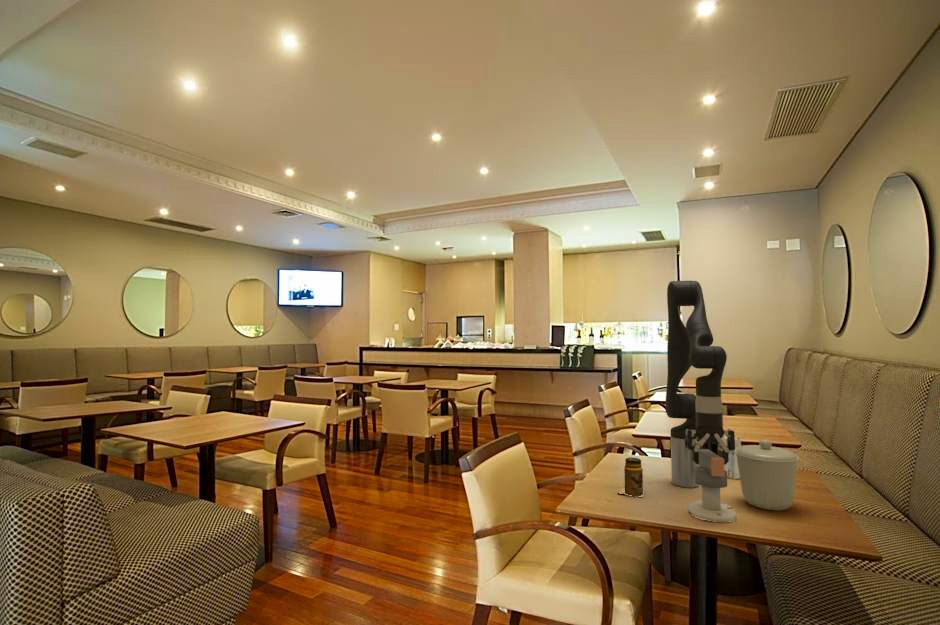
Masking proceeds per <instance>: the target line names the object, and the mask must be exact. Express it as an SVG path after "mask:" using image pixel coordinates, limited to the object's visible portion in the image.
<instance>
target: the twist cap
mask: <svg viewBox="0 0 940 625" xmlns="http://www.w3.org/2000/svg"><path fill="white" fill-rule="evenodd" d="M698 452H699V464H698V465H699V466H698V467H695V468H694V470H695V483H697V484H699V486H701V487H702V486H705V487H711V488H720V489H723V488H726V487H728V478H727V471H726V470H724V459H723V458H721V456H720V455H718V454H716V453H715V452H713V451H711V449H708V448H700V449H699V450H698Z"/></svg>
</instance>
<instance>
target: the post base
mask: <svg viewBox="0 0 940 625" xmlns="http://www.w3.org/2000/svg"><path fill="white" fill-rule="evenodd" d="M701 496H702V497H701V500H693V501H691V502H689V503H688V513H689V512H690V513H691V514H692V515H694V516H696V517H699V518H702V519H706V520H710V521H716V522H729V521H733V520H735V519H736V518H737V514H736V513H737V512H736V509H735V508H734V507H733V506H730V505H728V504H726V503H721V488H711V487H705V486H701ZM692 515H691V516H692ZM735 521H736V520H735ZM733 522H734V521H733ZM729 523H730V522H729Z"/></svg>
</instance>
